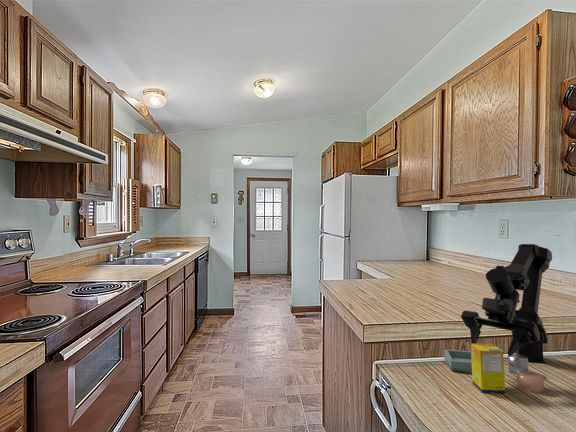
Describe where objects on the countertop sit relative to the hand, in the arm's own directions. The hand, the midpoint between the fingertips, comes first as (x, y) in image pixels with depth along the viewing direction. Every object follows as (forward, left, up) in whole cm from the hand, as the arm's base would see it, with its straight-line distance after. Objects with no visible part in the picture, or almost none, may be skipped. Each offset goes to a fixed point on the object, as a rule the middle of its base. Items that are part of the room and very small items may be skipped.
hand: (490, 350), depth 92 cm
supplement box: (+1, +2, -10) cm, 10 cm away
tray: (+3, -13, -9) cm, 17 cm away
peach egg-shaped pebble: (-10, -1, -10) cm, 14 cm away
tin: (-11, -12, -10) cm, 19 cm away
